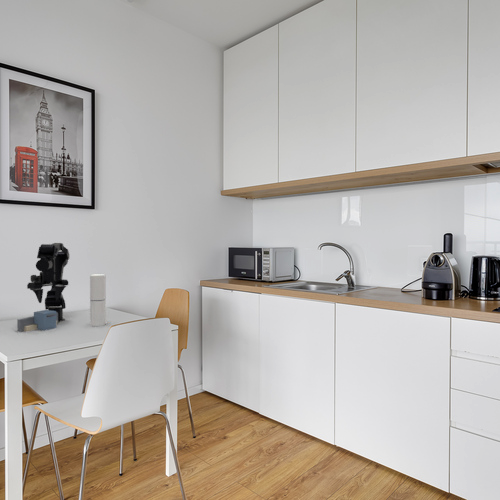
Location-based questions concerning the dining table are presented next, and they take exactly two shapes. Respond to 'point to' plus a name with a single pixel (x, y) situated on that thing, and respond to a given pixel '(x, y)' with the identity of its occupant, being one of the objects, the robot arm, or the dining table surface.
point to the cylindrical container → (97, 300)
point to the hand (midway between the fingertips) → (48, 301)
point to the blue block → (45, 319)
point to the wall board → (29, 323)
